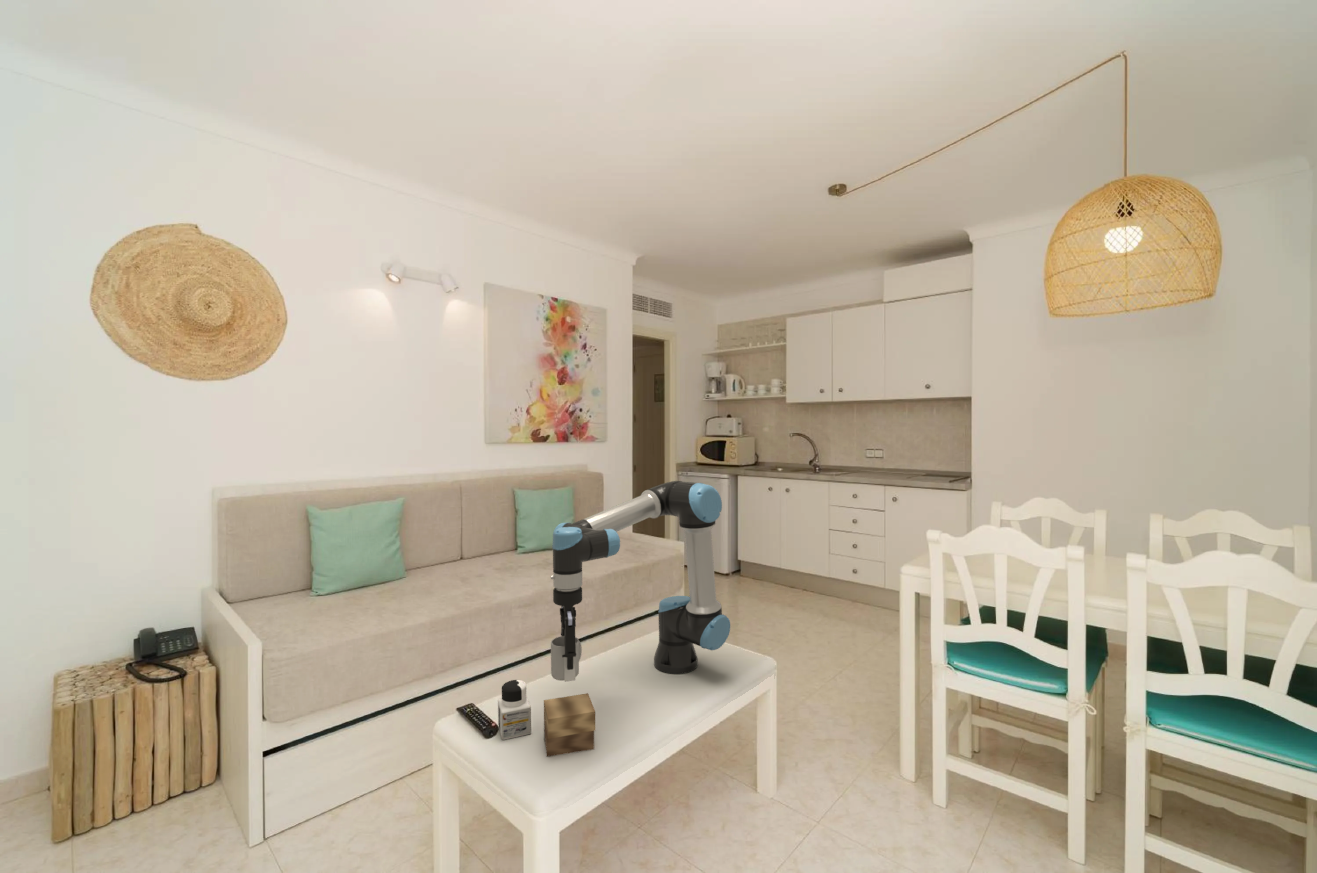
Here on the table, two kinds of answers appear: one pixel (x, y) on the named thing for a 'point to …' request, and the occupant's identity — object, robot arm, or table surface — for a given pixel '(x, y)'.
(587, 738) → the slab lower
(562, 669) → the cup
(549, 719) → the slab upper
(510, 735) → the container
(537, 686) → the table surface
